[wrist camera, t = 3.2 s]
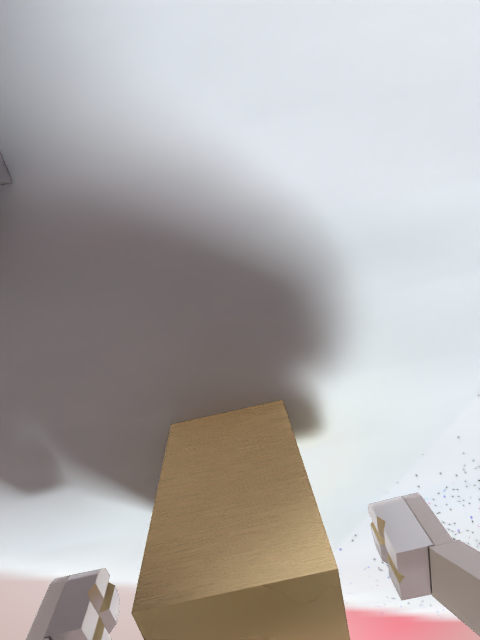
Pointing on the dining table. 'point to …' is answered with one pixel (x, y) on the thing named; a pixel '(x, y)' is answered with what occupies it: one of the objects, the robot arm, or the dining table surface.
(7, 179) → the well
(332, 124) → the dining table surface
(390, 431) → the dining table surface
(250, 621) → the tan block
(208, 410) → the dining table surface
